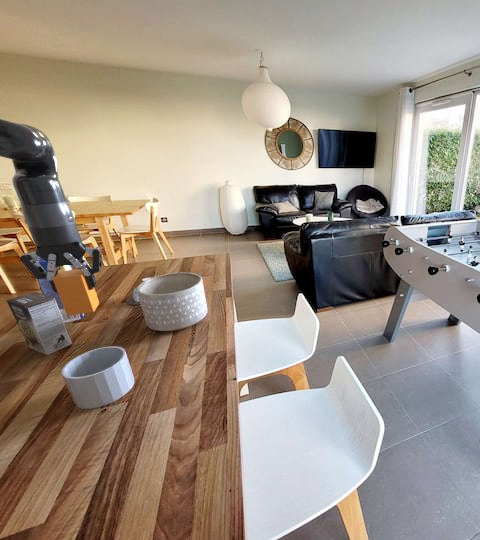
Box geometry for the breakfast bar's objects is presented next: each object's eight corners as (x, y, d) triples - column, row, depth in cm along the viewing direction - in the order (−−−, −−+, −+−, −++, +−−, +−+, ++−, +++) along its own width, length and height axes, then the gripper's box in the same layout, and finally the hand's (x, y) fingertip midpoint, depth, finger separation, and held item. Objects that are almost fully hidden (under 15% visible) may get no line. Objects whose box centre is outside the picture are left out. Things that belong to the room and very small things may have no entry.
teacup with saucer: (163, 300, 114) (159, 282, 111) (125, 308, 107) (119, 289, 104) (162, 289, 123) (158, 272, 120) (127, 295, 116) (122, 277, 114)
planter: (211, 325, 99) (204, 288, 94) (145, 340, 90) (133, 300, 85) (205, 302, 114) (199, 269, 109) (148, 313, 105) (139, 277, 99)
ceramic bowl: (66, 415, 64) (52, 384, 61) (84, 381, 74) (72, 353, 70) (129, 399, 69) (119, 369, 66) (138, 369, 78) (129, 342, 75)
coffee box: (27, 348, 85) (4, 300, 78) (55, 336, 90) (35, 290, 84) (46, 356, 82) (23, 306, 76) (73, 343, 87) (54, 296, 81)
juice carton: (67, 316, 69) (52, 278, 65) (74, 306, 73) (60, 270, 69) (94, 312, 71) (81, 275, 68) (99, 303, 75) (87, 268, 72)
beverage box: (85, 305, 108) (65, 250, 100) (83, 318, 100) (61, 259, 92) (60, 311, 104) (37, 253, 96) (55, 324, 96) (30, 263, 88)
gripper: (97, 217, 70) (117, 280, 77) (15, 221, 64) (43, 289, 70) (88, 223, 64) (110, 291, 70) (-5, 228, 58) (28, 303, 64)
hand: (76, 290), depth 70 cm, fingers closed on juice carton, 5 cm apart
